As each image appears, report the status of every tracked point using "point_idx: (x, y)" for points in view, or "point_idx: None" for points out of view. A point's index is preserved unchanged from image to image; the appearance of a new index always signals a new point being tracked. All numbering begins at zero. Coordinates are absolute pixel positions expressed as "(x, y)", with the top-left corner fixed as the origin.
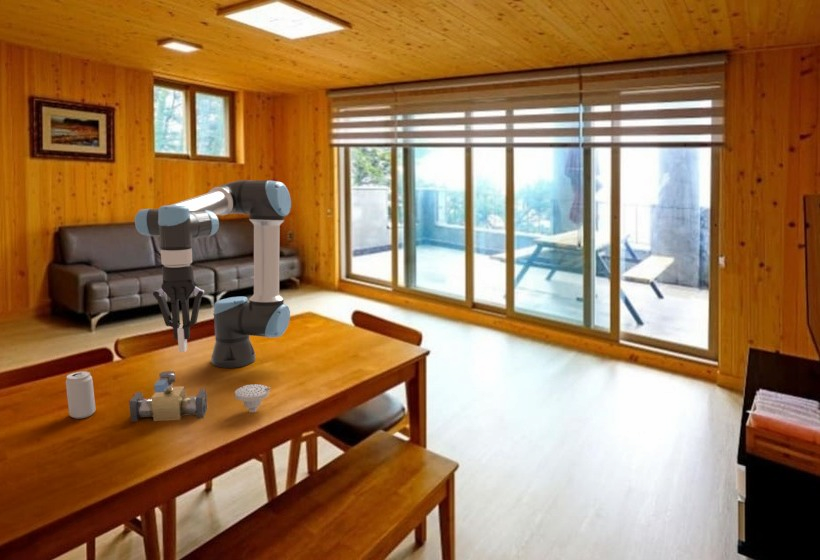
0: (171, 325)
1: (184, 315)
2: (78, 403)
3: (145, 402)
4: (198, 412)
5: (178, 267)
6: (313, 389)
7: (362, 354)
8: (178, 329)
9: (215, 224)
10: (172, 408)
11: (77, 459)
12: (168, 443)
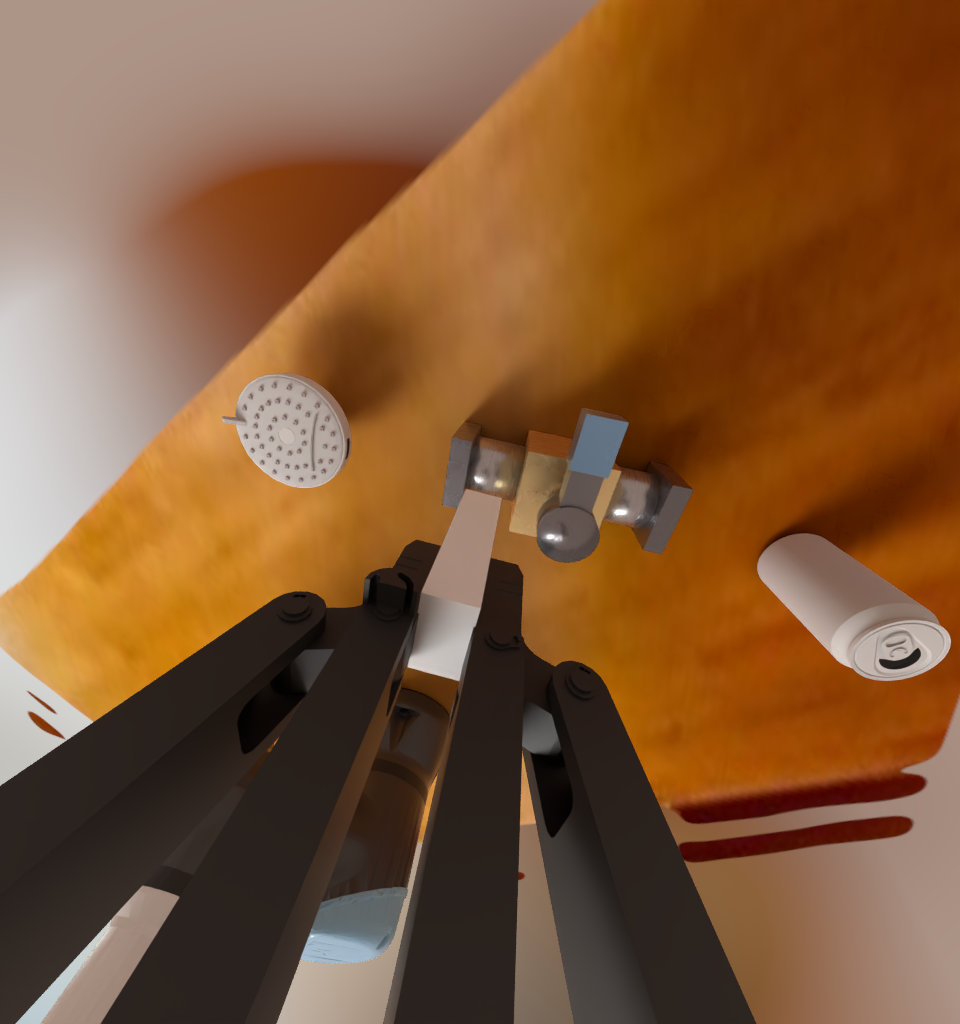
0: (538, 670)
1: (321, 739)
2: (841, 556)
3: (634, 494)
4: (474, 427)
5: None
6: (187, 503)
7: (114, 655)
8: (470, 600)
9: None
10: (550, 443)
11: (876, 216)
12: (569, 253)
